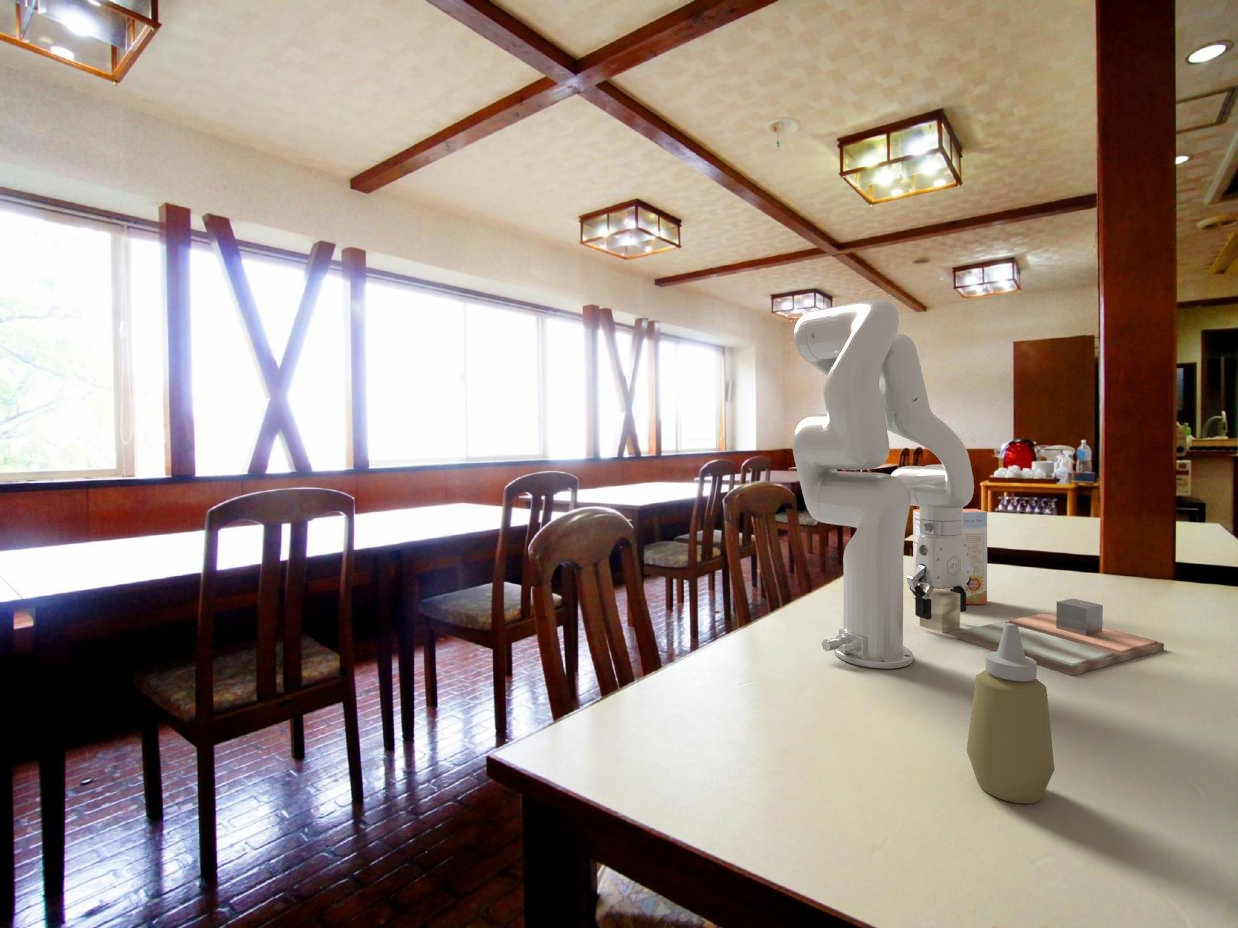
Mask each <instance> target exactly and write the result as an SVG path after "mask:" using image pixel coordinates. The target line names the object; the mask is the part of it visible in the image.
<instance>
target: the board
mask: <svg viewBox="0 0 1238 928" xmlns="http://www.w3.org/2000/svg"><path fill="white" fill-rule="evenodd" d="M1006 623H1012V624H1016V625H1018V629H1019V633H1020V638H1021V642H1022V646H1023V651H1024V655H1025V656H1027V657H1030V658H1032V659H1033V660H1035V661H1036V663H1037V666H1038V665H1039V666H1040V665H1041V666H1040V667H1044V668H1047V669H1049V670H1053V671H1057V672H1059V673H1063V674H1066V675H1069V676H1072V677H1073V676H1075V675H1080V674H1083V673H1086V672H1090V671H1093V670H1098V669H1100V668H1105V667H1108V666H1112V665H1116V664H1118V663H1122V662H1126V661H1129V660H1132V659H1137V658H1139V657H1144V656H1147V655H1151V654H1155V653H1157V652H1158V653H1159V652H1162V651H1164V650H1165V643H1164V642H1159V641H1158V640H1155V639H1150V638H1146V637H1144V636H1143V637H1142V636H1138V635H1135V634H1131V633H1126V632H1123V631H1120V630H1119V631H1118V630H1115V629H1111V628H1110V629H1109V628H1107V627H1103V626H1102V632H1100V633H1096V634H1092V635H1088V636H1083V635H1080V634H1076V633H1072V632H1068V631H1065V630H1061V629H1057V628H1056V615H1054V614H1050V613H1045V612H1043V613H1038V614H1034V615H1028V616H1024V617H1023V616H1022V617H1019V618H1014V619H1010V620H1007V621H1000V622H995V623H994V622H993V623H991V624H984V625H980V626H976V627H970V628H965V629H963V630H960V631H956V639H957V640H960V641H964V642H967V643H969V642H970V644H973V645H976V646H979V647H982V648H985V649H988V650H992V651H993V652H996V651H998V647H999V644H1000V640H1001V637H1002V633H1003V629H1004V626H1005V624H1006Z"/></svg>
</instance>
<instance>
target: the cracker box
mask: <svg viewBox="0 0 1238 928" xmlns="http://www.w3.org/2000/svg"><path fill="white" fill-rule="evenodd" d="M912 515H913V516H912V526H913V527H912V542H913V543H912V546H913V547H912V548H913V549H912V550H913V551H912V554H913V555H912V556H913V557H912V558H913V559H912V560H913V564H912V566H913V571H914V570H915V564H916V551H917V544H918V538H919V535H920V528H919V526H920V508H919V509H913V510H912ZM963 534H964V535H965V538H966V542H967V548H968V557H969V565H970V566H972V567H973V568H974V570H973V573H972V576H971V582H970V583H969V585H968V588H969V589H968V591H967V592H966V605H988V511H985V510H981V509H978V508H963ZM913 571H912V572H913ZM926 588H927V587H923V590H925V589H926ZM934 589H935V588H934ZM950 589H953V588H952V587H950V588H945V589H943V590H947V591H950ZM913 599H915V596H913Z"/></svg>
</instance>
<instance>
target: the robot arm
mask: <svg viewBox="0 0 1238 928" xmlns="http://www.w3.org/2000/svg"><path fill="white" fill-rule="evenodd" d="M899 323H900V320H899V313H898V310H897V307H896V306H895V305H894V303H892V302H890V301H888V300H884V299H869V300H861V301H855V302H851V303H847V304H841V305H836V306H831V307H826V308H821V309H816V310H812V311H809V312H807V313H804V315H802V316H801V317H800V318H799V319H798V320H797V322H796V324H795V327H794V331H793V340H794V341H793V342H794V345H795V347H796V350H797V352H798V353H799V354H800V356H801V357H802V358H803V359H805V361H806V362H808V363H809V364H811V365H812V366H813V367H815V368H816V369H817V370H818V371H821V373H823V374H824V375H826V378H825V380H824V386H823V398H824V403H825V404H824V405H825V410H826V413H824V414H813V415H810V416H807V417H804V418H803V419H802V420H801V421H800V422H799V423H798V424H797V426H796V428H795V430H794V434H793V437H792V454H793V458H794V464H795V467H796V471H797V476H798V480H799V484H800V487H801V492H802V496H803V501H804V503H805V507H806V509H807V511H808V513H809V515H810V516H811V518H812V519H814V520H815V521H817V522H820V523H823V524H829V525H836V526H845V527H851V528H856V531H855V532H854V534H853V535H852V537H851V538H850V539H849V541H848V542H847V544H846V545H845V548H844V551H843V558H842V559H843V561H842V563H843V564H842V565H843V600H842V601H843V607H842V608H843V614H842V615H843V618H842V619H843V620H842V622H843V625H842V627H843V628H840V629H838V635H836V636H835V637H832V638H826V639H823V640H822V641H821V647H822V649H823V650H824V651H825V652H831V651H833V652H834V654H835V656H836V657H837V658H839V659H841V660H842V661H844V662H846V663H850V664H852V665H855V666H856V665H857V666H860V667H866V668H871V669H887V670H889V669H891V670H892V669H901V668H904V667H907V666H909V665H911V664H912V663H913V661H914V658H913V657H914V654H913V652H912V651H911V649H909V648H907V647H906V646H905V645H904V558H905V557H904V555H905V554H904V553H905V552H904V551H905V550H904V548H905V538H906V537H905V536H906V530H907V523H908V518H909V514H910V510H911V507H912V506H914V507H915V506H916V507H919V509H920V526H919V528H920V535H919V538H918V544H917V551H916V564H915V570H914V571H912V572H911V573H910V574H909V575H907V576H906V581H907V584H908V587H909V590H910V591H911V593H912V595H913V597H914V596H915V598H914V603H915V604H914V606H915V607H914V609H915V611H914V612H915V616H916V617H918V618H920V617H921V618H924V619H927V620H929V619H931V599H929V596H930V594H931V593H932V591H933V589H934V588H935V589H945V588H950V587H952V588H953V589H950V591H951V592H955V593H959V594H960V613H964V612H967V604H966V592H967V591H968V589H969V588H968V585H969V583H970V582H971V576H972V573H973V570H974V568H973V567H972V566H970V565H969V557H968V548H967V542H966V538H965V535H964V534H963V509H964V507H966V506H968V505H969V503H970V502H971V501H972V499H973V496H974V490H975V483H974V475H973V469H972V465H971V464H972V463H971V460H970V456H969V453H968V450H967V448H966V445H965V444H964V442H963V440H961V438H960V437H959V436H958V435H957V433H955V431H953V430H952V428H950V427H949V425H947V424H946V423H945V422H944V421H943V420H942V419H940V418H939V417H938V416H936V415H935V414H934V413H933V412H932V410H931V407H930V403H929V397H928V392H927V388H926V385H925V381H924V375H923V371H922V366H921V363H920V362H921V361H920V359H919V353H918V348H917V346H916V344H915V342H914V340H913V339H912V338H911V337H909V336H908V335H906V334H903V333H902V334H901V333H898V330H899ZM888 432H891V433H892V434H895V435H898V436H900V437H901V438H904V439H907V440H909V441H911V442H914V443H915V444H918V445H920V446H922V447H924V448H926V449H927V450H929V451H930V452H932V453H933V454H934V456H936V457H937V459H938V461H940V462H941V464H927V465H925V466H924V465H922V466H921V465H905V466H900V467H898V468H896V469H895V470H893V471H892V472H891V474H888V473H884V472H868V471H866V472H864V471H865V470H874V469H877V468H879V467H882V466H883V465H884V464H885V463H886V462H887V460H888V458H889V455H890V441H889V440H890V439H889V433H888ZM838 470H849V471H838ZM854 470H855V471H854ZM923 587H927V588H926V589H925V591H924V590H923Z"/></svg>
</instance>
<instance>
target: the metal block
mask: <svg viewBox="0 0 1238 928" xmlns="http://www.w3.org/2000/svg"><path fill="white" fill-rule="evenodd" d="M1103 606H1104V604H1099V603H1095V602H1091V601H1086V600H1082V599H1077V598H1069V599H1064V600H1059V601H1056V615H1055V616H1056V628H1057V629H1061V630H1065V631H1068V632H1072V633H1076V634H1080V635H1083V636H1088V635H1092V634H1096V633H1100V632H1102V627H1103V615H1104V614H1103V612H1104V611H1103Z"/></svg>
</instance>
